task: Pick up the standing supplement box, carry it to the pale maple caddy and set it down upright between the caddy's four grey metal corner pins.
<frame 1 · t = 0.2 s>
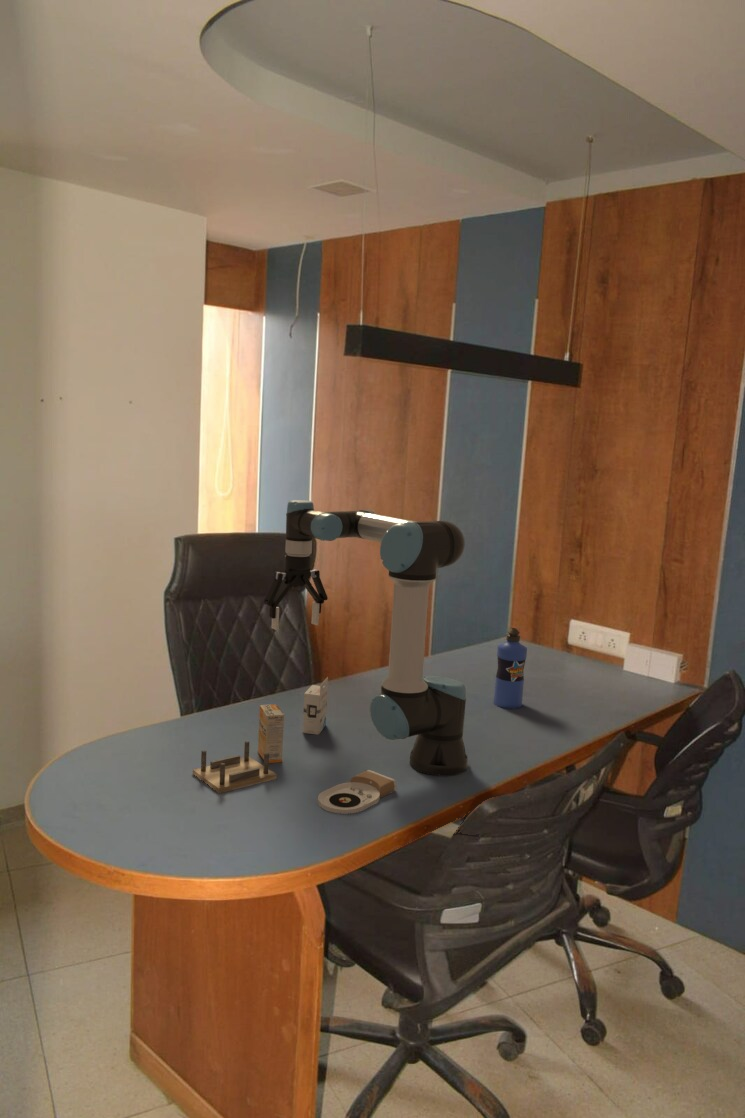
hand: (295, 626, 257), 28 cm above the table, fingers open, 13 cm apart
supplement box: (269, 757, 232), on the table
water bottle: (507, 704, 286), on the table
record player: (354, 799, 211), on the table
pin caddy: (234, 776, 218), on the table
ink box: (314, 729, 254), on the table
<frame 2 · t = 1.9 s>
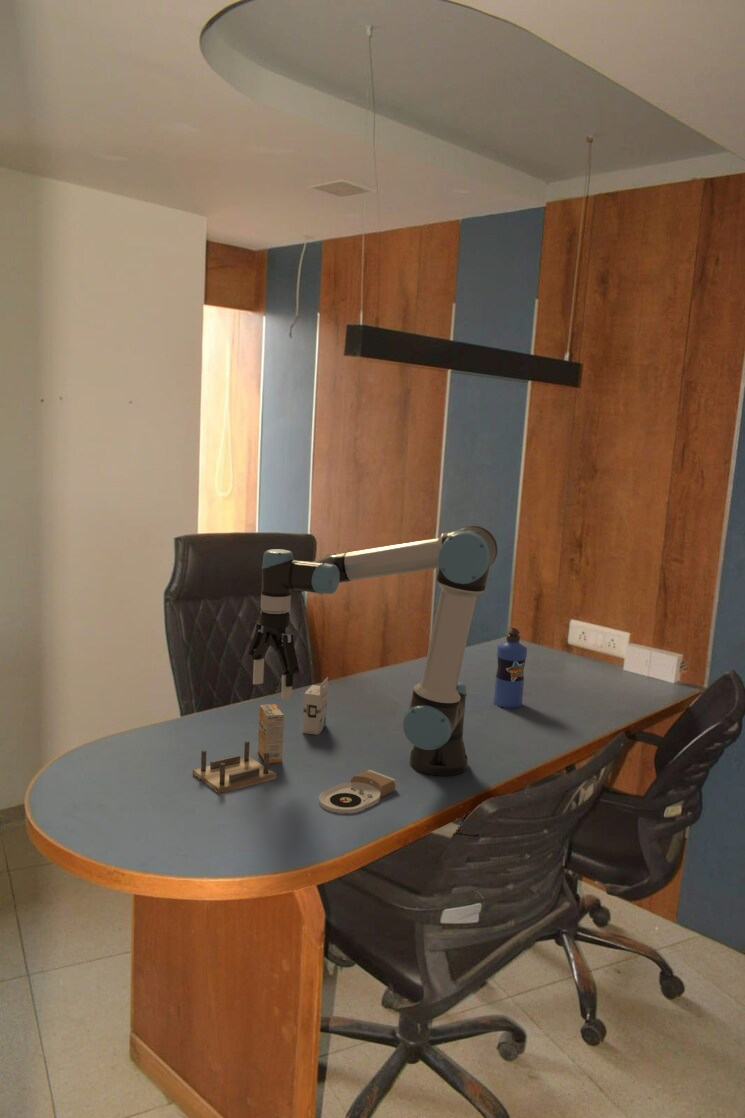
hand: (271, 690, 229), 18 cm above the table, fingers open, 13 cm apart
nothing on the table moved.
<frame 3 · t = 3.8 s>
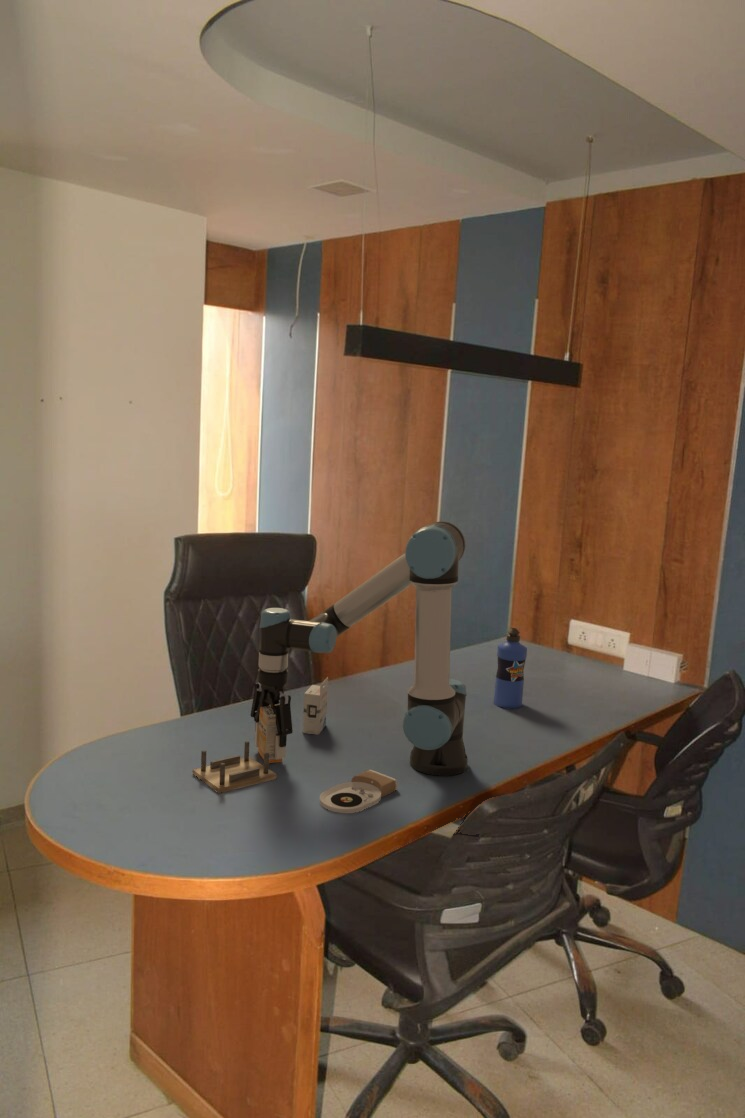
hand: (269, 751, 232), 2 cm above the table, fingers closed on supplement box, 9 cm apart
supplement box: (269, 757, 232), on the table, touching gripper
everything else where it was.
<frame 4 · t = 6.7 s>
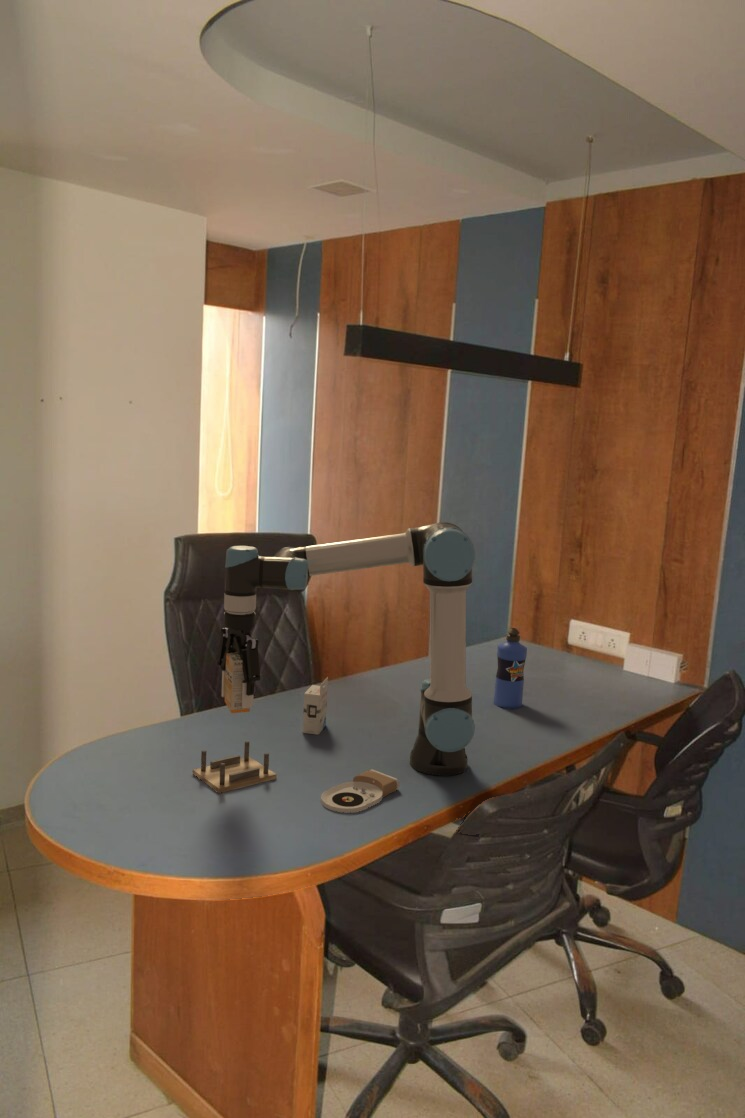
hand: (237, 701, 215), 19 cm above the table, fingers closed on supplement box, 9 cm apart
supplement box: (236, 708, 216), point 18 cm above the table, touching gripper
everything else where it was.
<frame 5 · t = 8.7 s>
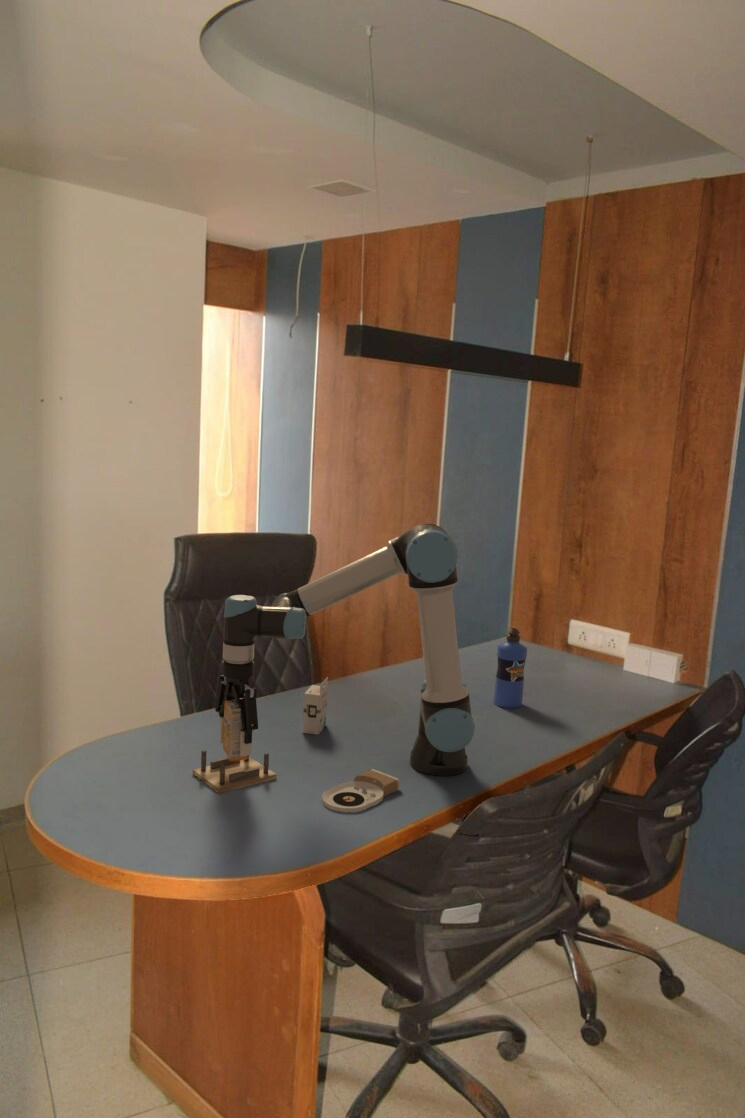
hand: (235, 748, 217), 7 cm above the table, fingers closed on supplement box, 9 cm apart
supplement box: (234, 755, 218), point 6 cm above the table, touching gripper
when the fingers open (4 cm above the table, at t = 9.9 s): supplement box stays where it is, resting on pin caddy.
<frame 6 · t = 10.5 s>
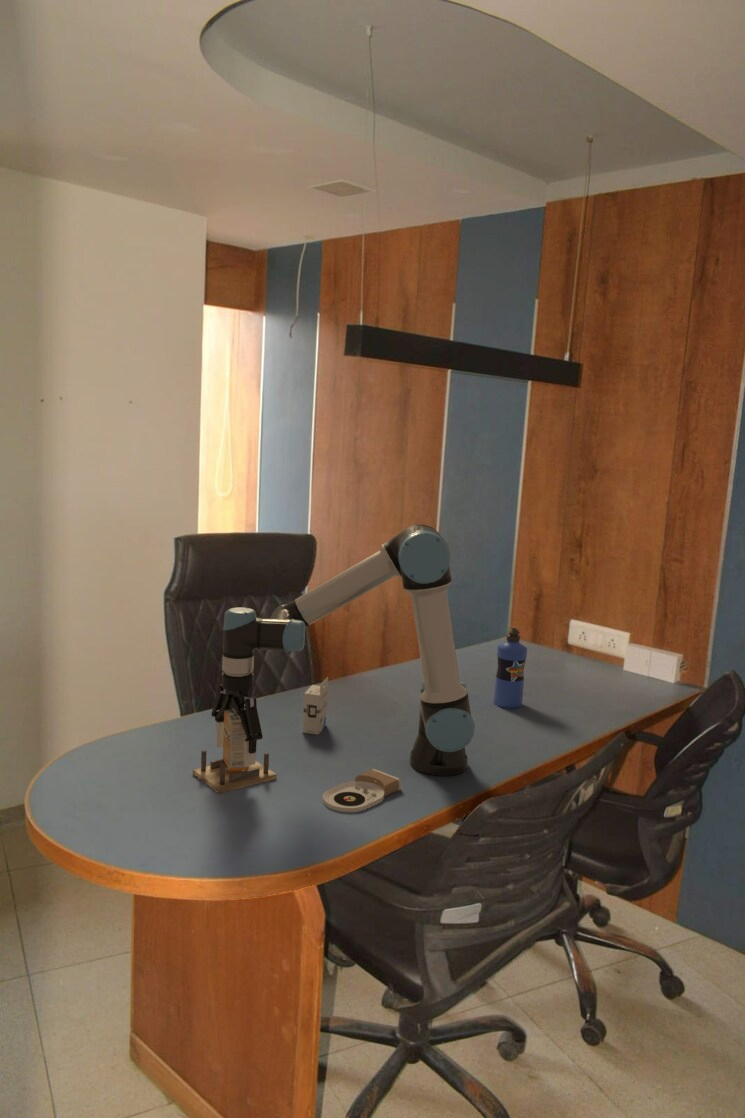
hand: (235, 755, 218), 5 cm above the table, fingers open, 13 cm apart
supplement box: (234, 765, 218), point 3 cm above the table, touching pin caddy
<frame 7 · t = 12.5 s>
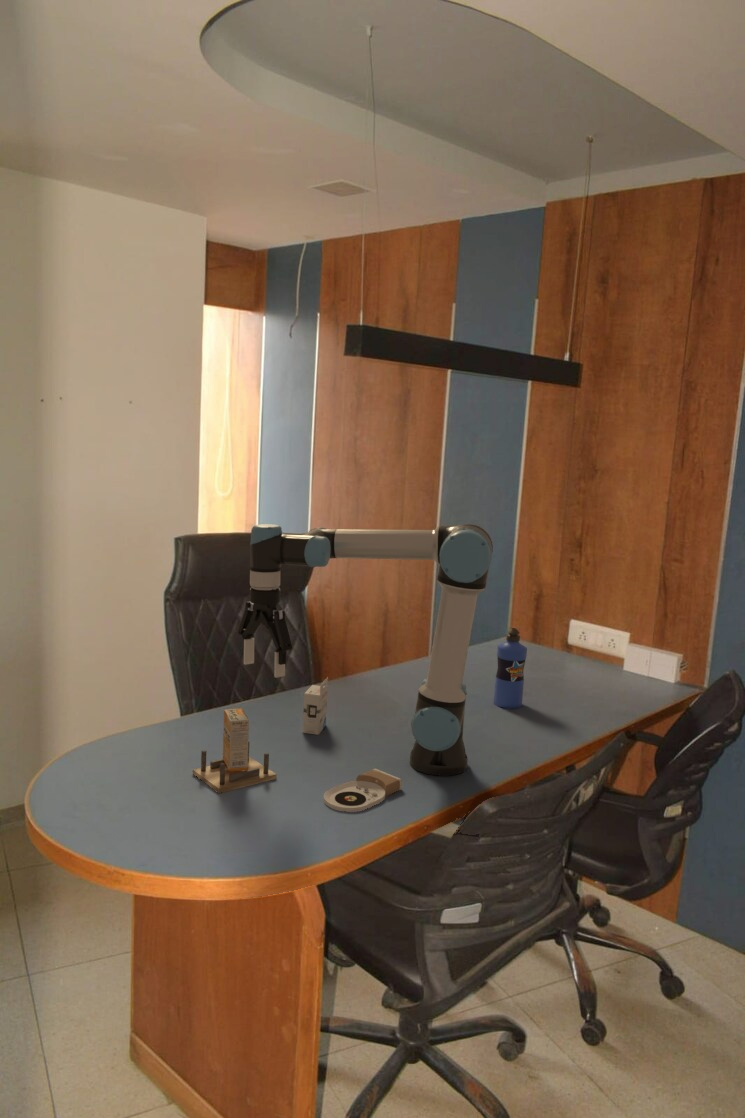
hand: (263, 670, 223), 25 cm above the table, fingers open, 13 cm apart
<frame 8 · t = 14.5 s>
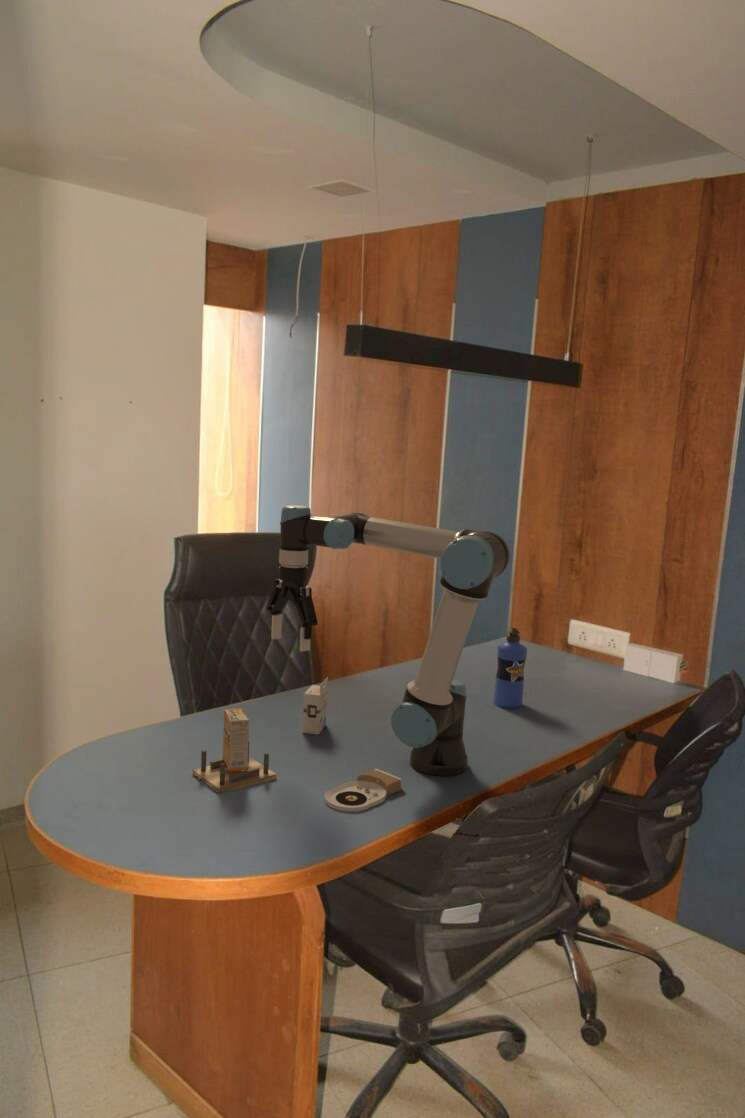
hand: (290, 644, 234), 29 cm above the table, fingers open, 13 cm apart
at the end: supplement box 0.0 cm off-centre on the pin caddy, point 2.8 cm above the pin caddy's base; supplement box tilted 0°; the gripper is holding nothing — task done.
